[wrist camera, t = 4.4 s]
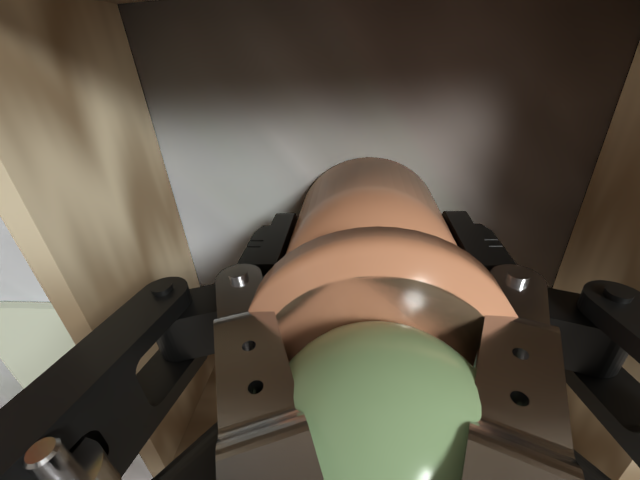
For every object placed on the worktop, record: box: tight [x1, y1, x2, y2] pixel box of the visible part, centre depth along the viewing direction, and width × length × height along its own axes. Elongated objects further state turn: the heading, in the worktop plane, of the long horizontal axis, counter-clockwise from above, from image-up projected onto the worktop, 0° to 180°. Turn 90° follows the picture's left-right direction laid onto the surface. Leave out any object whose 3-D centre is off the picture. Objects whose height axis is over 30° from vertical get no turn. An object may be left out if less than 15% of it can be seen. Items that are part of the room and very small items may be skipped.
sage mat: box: [0, 301, 75, 389], centre depth 20 cm, size 11×11×1 cm
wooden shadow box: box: [0, 0, 640, 480], centre depth 11 cm, size 18×18×6 cm
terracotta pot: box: [248, 157, 518, 480], centre depth 9 cm, size 6×6×11 cm
